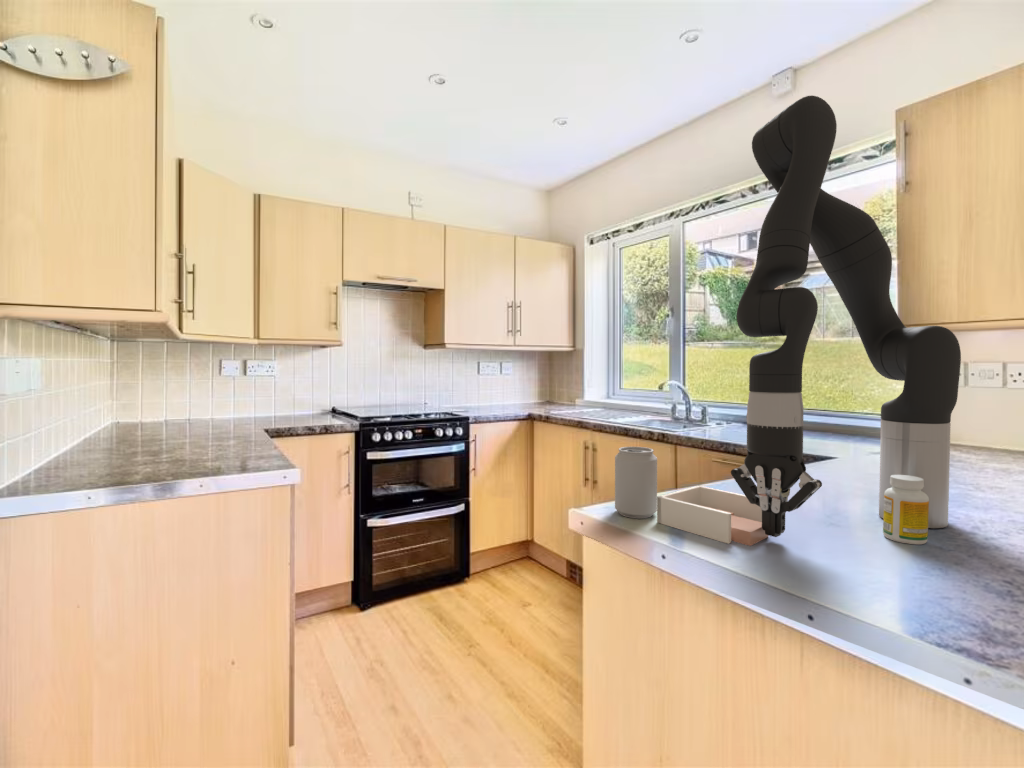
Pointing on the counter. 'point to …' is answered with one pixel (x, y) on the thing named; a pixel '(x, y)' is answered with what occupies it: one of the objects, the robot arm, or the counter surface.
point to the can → (636, 482)
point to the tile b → (746, 531)
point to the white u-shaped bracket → (705, 511)
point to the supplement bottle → (906, 510)
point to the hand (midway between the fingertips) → (773, 534)
